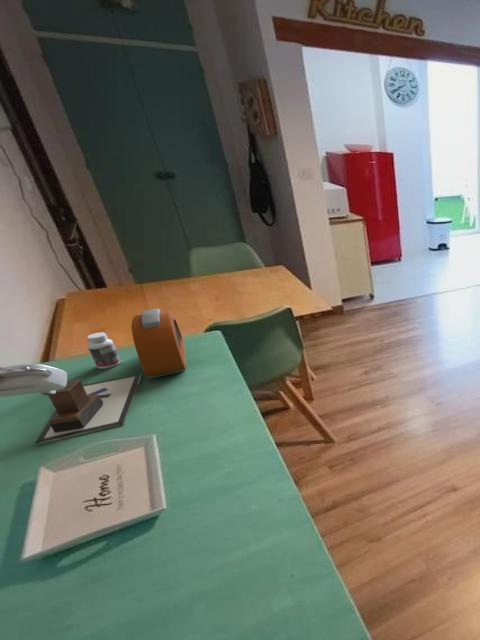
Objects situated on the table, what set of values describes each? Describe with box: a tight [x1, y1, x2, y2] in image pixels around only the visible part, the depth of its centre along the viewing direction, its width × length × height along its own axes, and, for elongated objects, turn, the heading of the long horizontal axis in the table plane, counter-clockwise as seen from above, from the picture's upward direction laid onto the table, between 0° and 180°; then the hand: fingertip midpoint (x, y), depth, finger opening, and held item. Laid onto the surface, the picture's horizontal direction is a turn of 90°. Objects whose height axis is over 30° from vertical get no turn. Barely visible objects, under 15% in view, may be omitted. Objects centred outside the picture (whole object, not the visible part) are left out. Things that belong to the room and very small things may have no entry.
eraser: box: [47, 379, 103, 433], centre depth 98 cm, size 10×5×9 cm, turn 21°
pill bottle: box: [86, 332, 122, 370], centre depth 122 cm, size 5×5×10 cm
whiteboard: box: [34, 373, 143, 446], centre depth 105 cm, size 15×26×1 cm, turn 31°
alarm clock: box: [131, 308, 187, 379], centre depth 122 cm, size 23×9×17 cm, turn 37°
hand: (21, 394), depth 84 cm, fingers open, 8 cm apart
